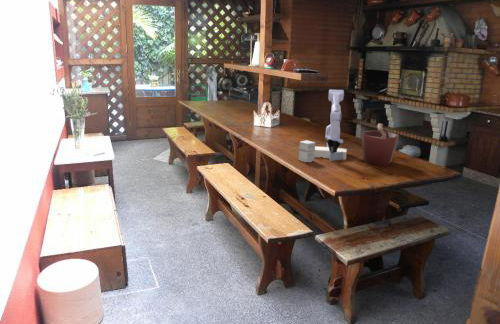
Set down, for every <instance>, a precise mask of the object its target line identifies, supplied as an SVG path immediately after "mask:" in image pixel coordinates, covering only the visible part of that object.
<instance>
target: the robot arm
mask: <svg viewBox="0 0 500 324" xmlns="http://www.w3.org/2000/svg"><path fill="white" fill-rule="evenodd" d="M344 96H345V91H344V89H331V88H330V89H329V90H328V101H329V102H331V110H330V124H329V125H327V126H326V128H325V135H324V137H325V138H324V139H325V140H326V147H329V151H331V147H332V146H333V152H334V153H335V152H337V149H338V148H340V146H341V144H343V143H344V139H342V138H340V137H341V121H342V111H341V108H342V107H341V105H340V102H342V101H343V100H344Z"/></svg>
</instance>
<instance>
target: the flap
mask: <svg viewBox="0 0 500 324" xmlns="http://www.w3.org/2000/svg"><path fill="white" fill-rule="evenodd" d="M328 159H329V162H334V161H340V160H344V159H343V151H342V152H335V153H334V152H333V146H332V147H331V152H330V157H329V158H328Z"/></svg>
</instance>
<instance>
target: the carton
mask: <svg viewBox="0 0 500 324" xmlns="http://www.w3.org/2000/svg"><path fill="white" fill-rule="evenodd" d="M347 150H348V149H347V148H342V147H338V149H337V152H342V151H343V159H342V160H347V154H348V153H347ZM330 152H331V151H329V147H327V146H316V145H315V155H314V158H320V157H323V158H322V159H329V157H330Z"/></svg>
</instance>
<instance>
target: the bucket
mask: <svg viewBox="0 0 500 324" xmlns="http://www.w3.org/2000/svg"><path fill="white" fill-rule="evenodd" d="M383 125H384V124H383V123H378V124H377V130H367V131H362V132H361V137H360V138H361V146H362V157H363V162H365V164H368V165H371V166H372V165H373V166H378V167H379V166H382V167H384V166H387V167H388V166H389V165H390V164H391V162H392V161H393V156H394V153H395V150H396V147H397V146H398V145H397V144H398V141H399V138H400V137H399V136H400V134H397V133H394V132H391V131H385V130H384V128H383Z"/></svg>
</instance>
